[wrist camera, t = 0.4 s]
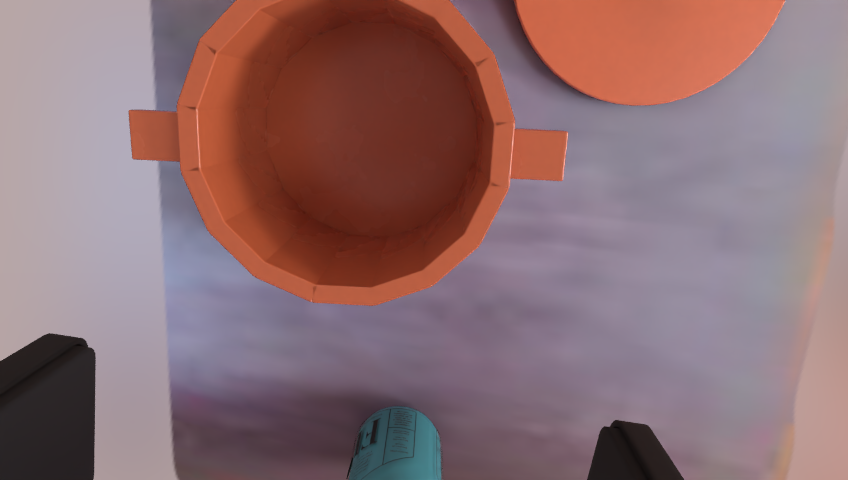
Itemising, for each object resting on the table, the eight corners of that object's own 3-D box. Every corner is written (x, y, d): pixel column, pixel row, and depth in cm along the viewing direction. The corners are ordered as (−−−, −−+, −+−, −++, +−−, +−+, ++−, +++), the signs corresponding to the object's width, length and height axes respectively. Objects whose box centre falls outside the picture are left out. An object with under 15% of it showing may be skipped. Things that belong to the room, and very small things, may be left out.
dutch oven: (210, 0, 36) (106, -48, 24) (540, 15, 36) (589, -25, 24) (220, 239, 40) (134, 293, 28) (518, 254, 39) (551, 315, 28)
